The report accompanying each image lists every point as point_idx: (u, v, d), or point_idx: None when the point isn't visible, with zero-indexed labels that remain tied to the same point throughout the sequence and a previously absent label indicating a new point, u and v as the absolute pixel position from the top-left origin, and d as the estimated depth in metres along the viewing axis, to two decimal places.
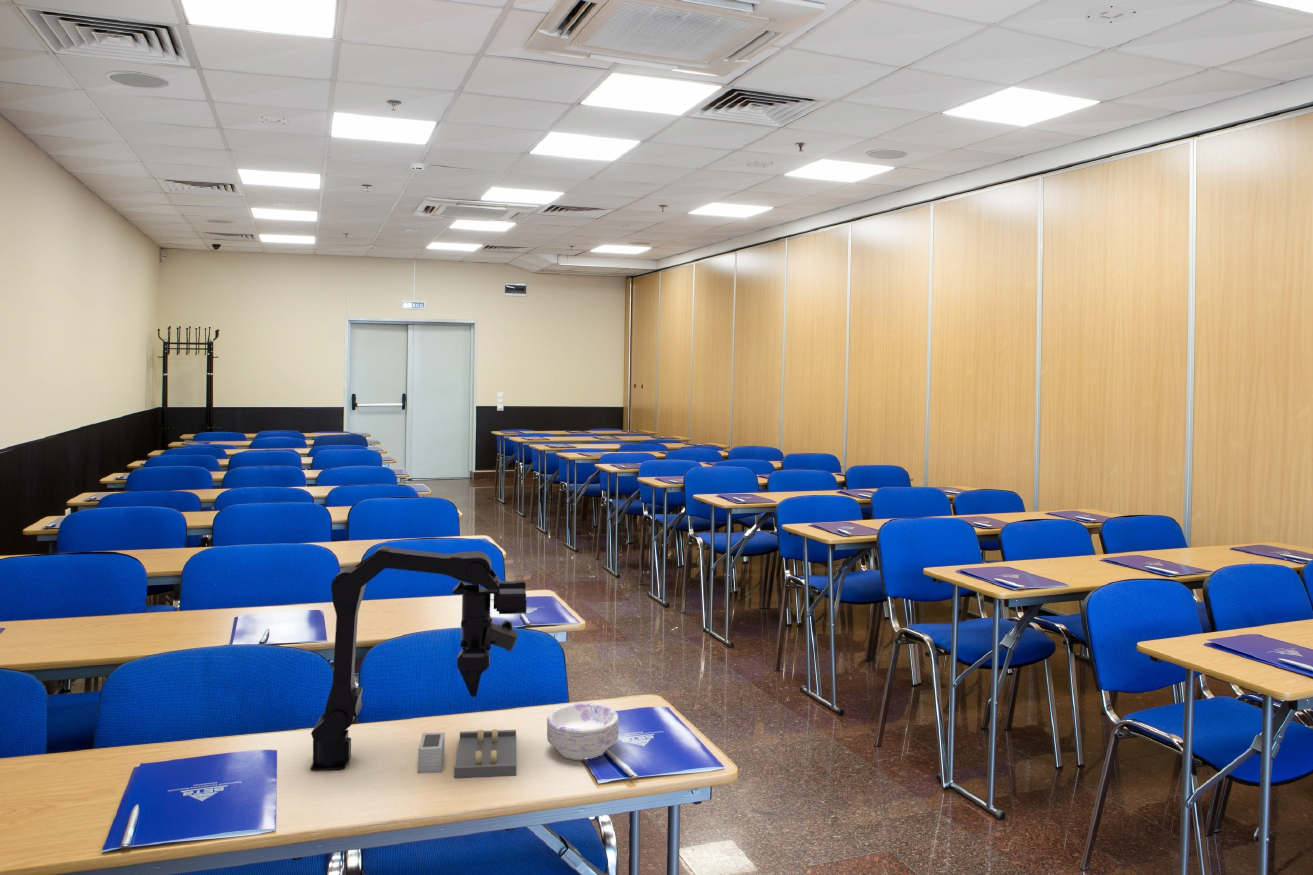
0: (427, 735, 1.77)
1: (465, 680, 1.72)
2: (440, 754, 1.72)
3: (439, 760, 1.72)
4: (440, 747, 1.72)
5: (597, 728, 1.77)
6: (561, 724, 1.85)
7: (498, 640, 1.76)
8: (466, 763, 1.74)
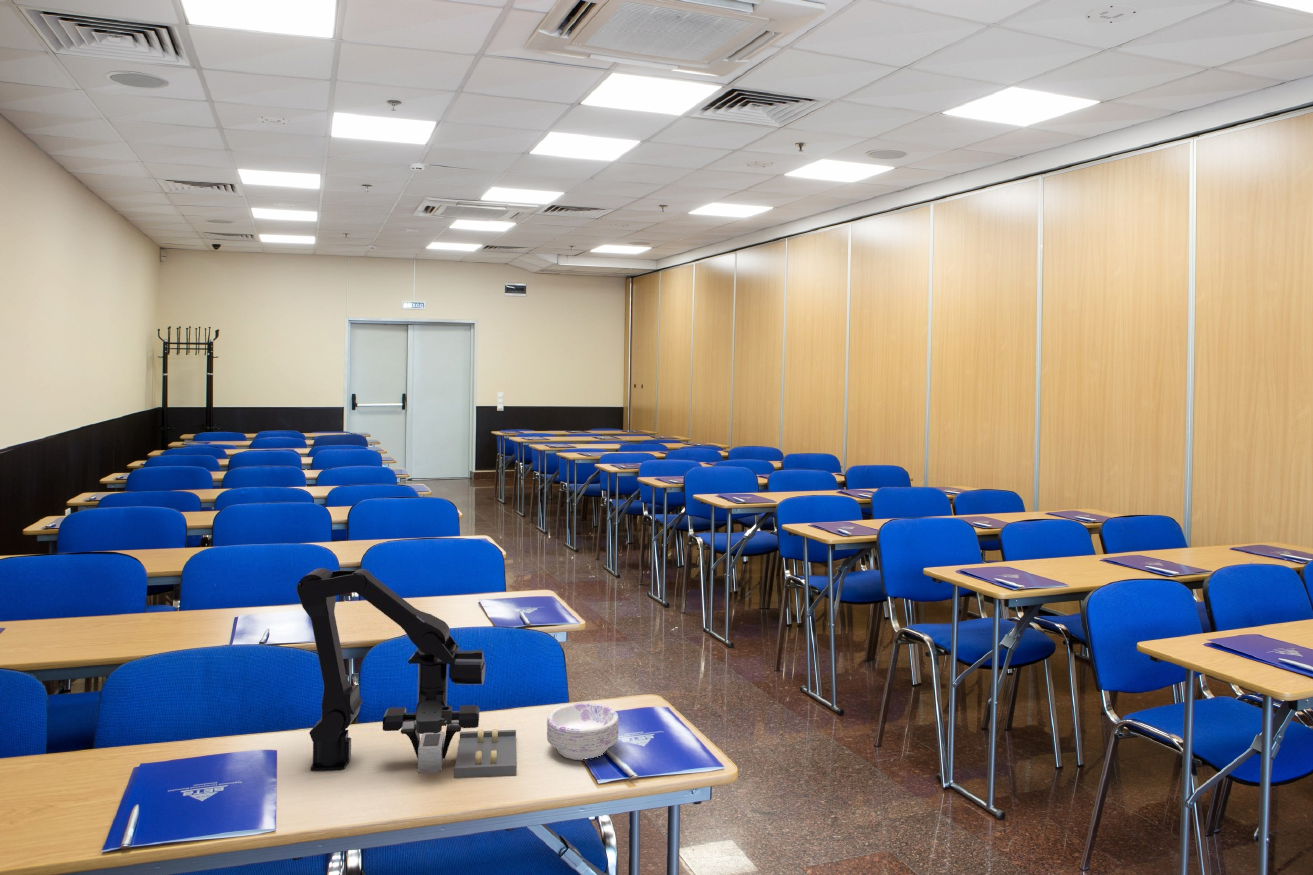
0: (427, 735, 1.77)
1: None
2: (440, 753, 1.72)
3: (439, 759, 1.72)
4: (440, 746, 1.72)
5: (597, 728, 1.77)
6: (561, 724, 1.85)
7: None
8: (466, 763, 1.74)
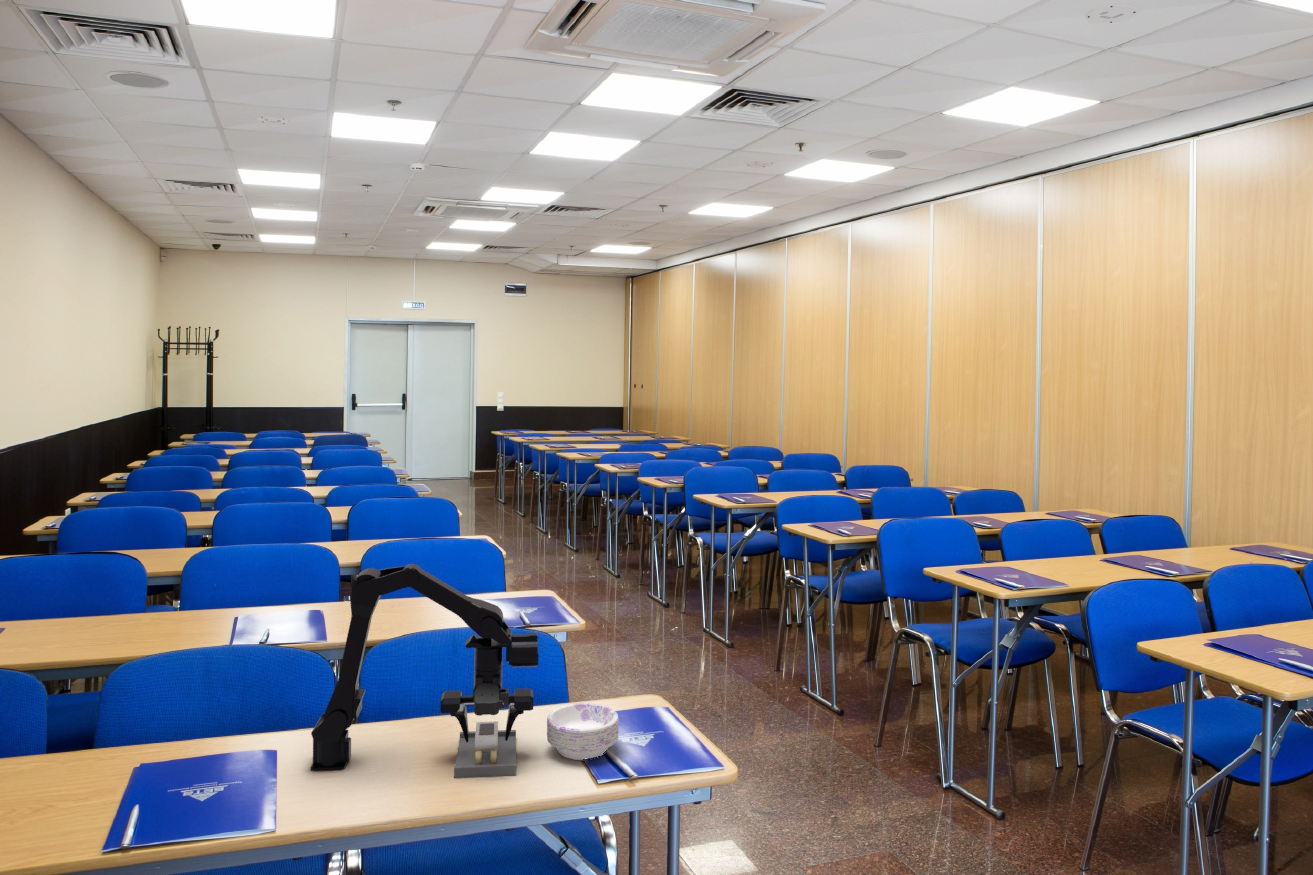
0: (481, 724, 1.81)
1: None
2: (496, 742, 1.75)
3: (495, 747, 1.75)
4: (496, 735, 1.76)
5: (597, 728, 1.77)
6: (561, 724, 1.85)
7: (475, 698, 1.73)
8: (466, 763, 1.74)
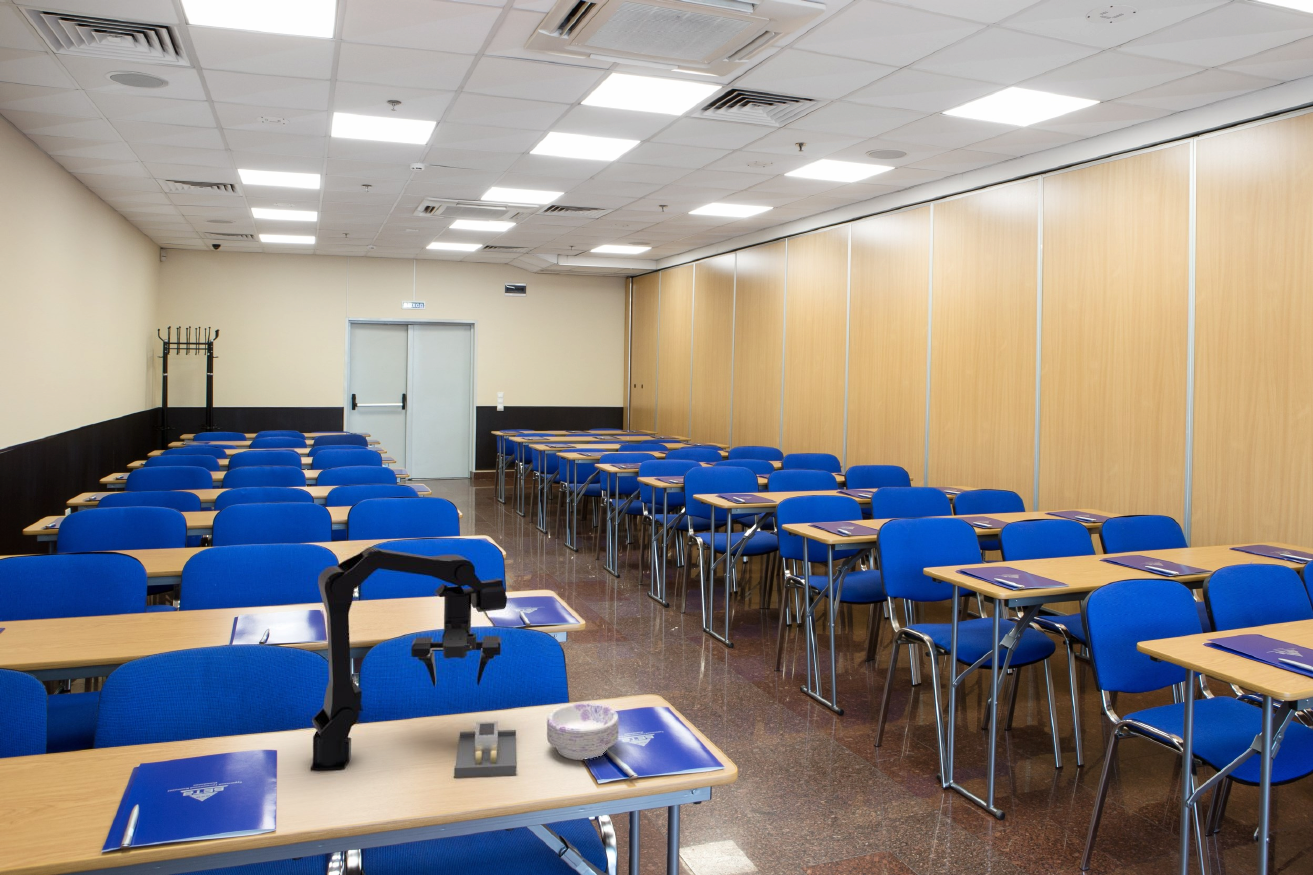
0: (481, 724, 1.81)
1: None
2: (496, 742, 1.75)
3: (495, 747, 1.75)
4: (496, 735, 1.76)
5: (597, 728, 1.77)
6: (561, 724, 1.85)
7: None
8: (466, 763, 1.74)
